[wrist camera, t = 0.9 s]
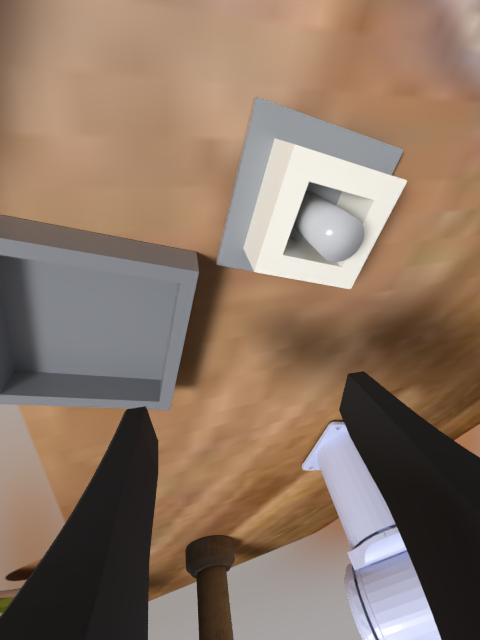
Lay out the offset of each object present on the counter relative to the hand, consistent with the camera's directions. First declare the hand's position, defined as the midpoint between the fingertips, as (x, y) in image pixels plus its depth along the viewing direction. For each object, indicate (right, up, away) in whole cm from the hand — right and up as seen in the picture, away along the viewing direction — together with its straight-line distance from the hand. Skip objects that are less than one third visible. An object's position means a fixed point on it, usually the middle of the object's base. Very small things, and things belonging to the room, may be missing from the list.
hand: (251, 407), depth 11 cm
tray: (-9, +3, +8) cm, 13 cm away
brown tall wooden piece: (-5, -28, +31) cm, 43 cm away
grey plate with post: (+3, +9, +6) cm, 12 cm away
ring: (+3, +9, +5) cm, 11 cm away
